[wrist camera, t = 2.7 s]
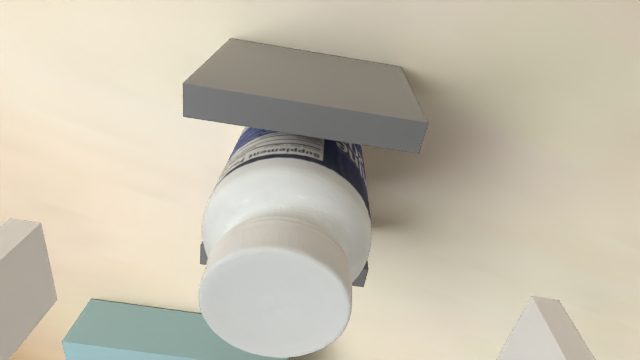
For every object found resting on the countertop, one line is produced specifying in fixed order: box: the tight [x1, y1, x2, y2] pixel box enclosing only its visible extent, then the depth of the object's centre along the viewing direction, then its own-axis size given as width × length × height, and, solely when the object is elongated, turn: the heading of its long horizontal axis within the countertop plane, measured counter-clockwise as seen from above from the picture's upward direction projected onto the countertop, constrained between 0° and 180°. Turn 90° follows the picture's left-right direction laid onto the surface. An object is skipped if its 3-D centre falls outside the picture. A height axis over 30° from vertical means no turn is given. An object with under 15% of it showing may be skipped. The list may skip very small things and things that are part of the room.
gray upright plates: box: [183, 38, 428, 287], centre depth 16 cm, size 8×7×6 cm
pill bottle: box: [199, 127, 371, 358], centre depth 15 cm, size 5×5×10 cm
